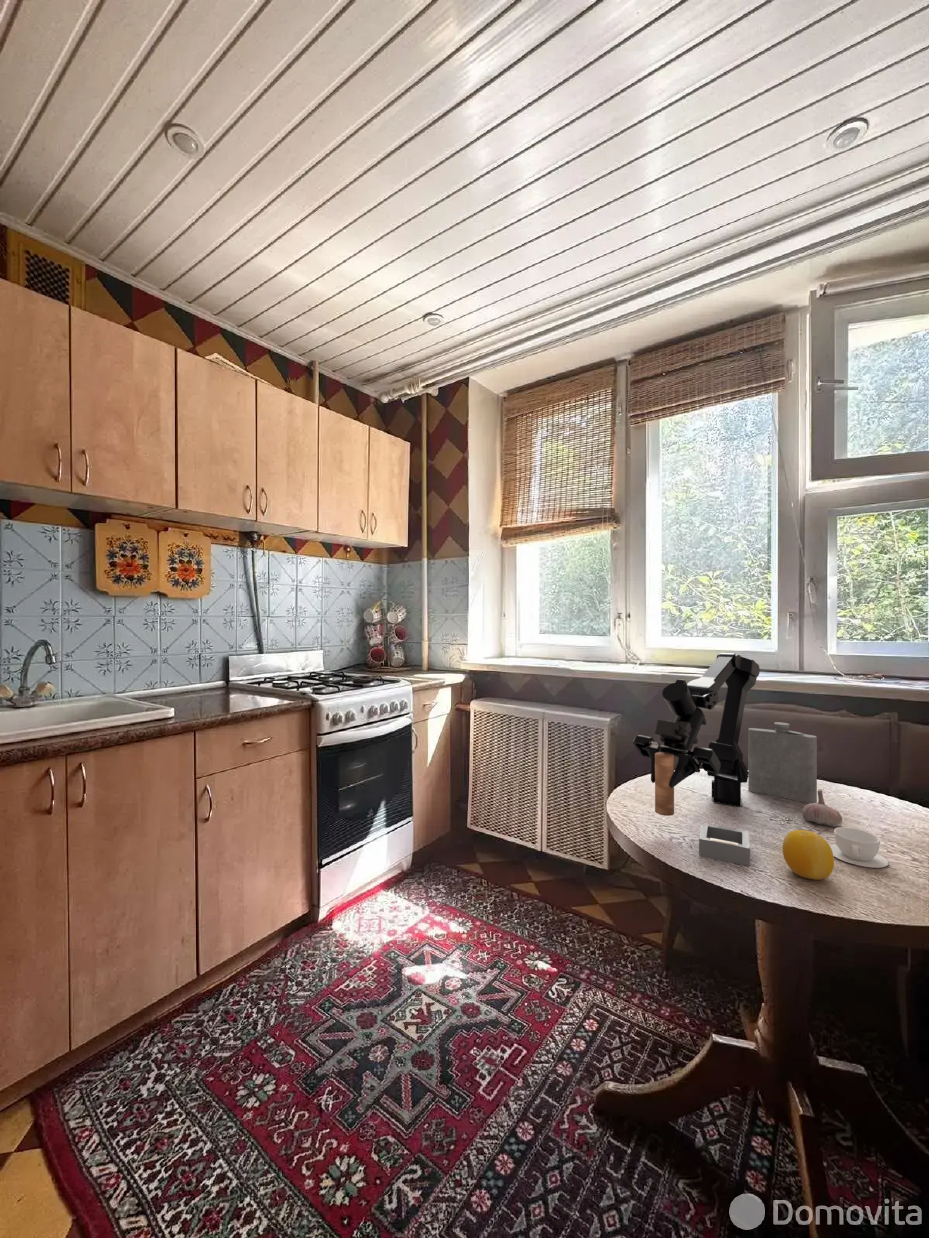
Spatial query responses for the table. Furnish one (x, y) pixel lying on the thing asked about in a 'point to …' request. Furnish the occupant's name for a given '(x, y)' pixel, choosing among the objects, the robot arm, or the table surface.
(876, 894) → the table surface
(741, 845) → the socket block
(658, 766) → the peg
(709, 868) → the table surface
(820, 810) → the garlic bulb
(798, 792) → the hip flask
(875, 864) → the teacup
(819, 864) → the fruit
